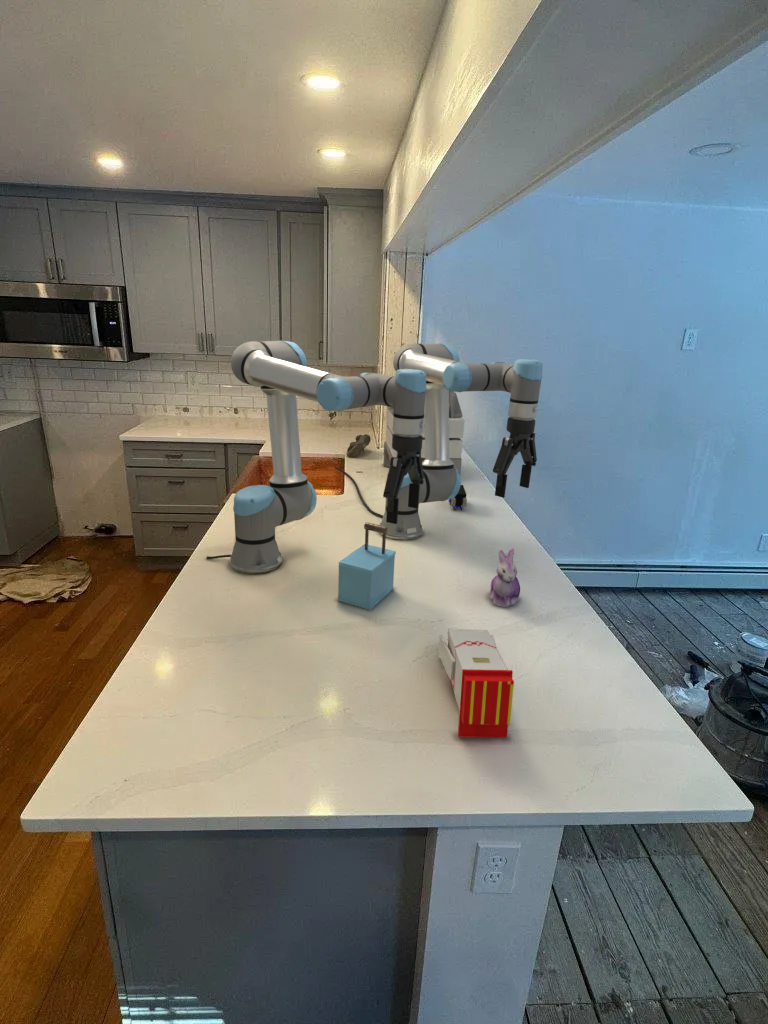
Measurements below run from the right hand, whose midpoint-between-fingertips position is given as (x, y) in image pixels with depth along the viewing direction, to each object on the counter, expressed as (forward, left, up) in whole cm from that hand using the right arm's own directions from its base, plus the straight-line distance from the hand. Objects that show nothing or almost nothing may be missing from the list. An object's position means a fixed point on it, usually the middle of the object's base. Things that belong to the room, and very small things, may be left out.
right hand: (512, 491), depth 163 cm
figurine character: (-52, +36, -27) cm, 69 cm away
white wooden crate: (-96, +58, -27) cm, 115 cm away
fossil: (-142, +56, -27) cm, 155 cm away
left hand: (-8, -35, -2) cm, 36 cm away
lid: (-15, -40, -16) cm, 46 cm away
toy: (+31, -50, -27) cm, 65 cm away
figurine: (+10, -12, -27) cm, 31 cm away
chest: (-15, -41, -27) cm, 51 cm away
